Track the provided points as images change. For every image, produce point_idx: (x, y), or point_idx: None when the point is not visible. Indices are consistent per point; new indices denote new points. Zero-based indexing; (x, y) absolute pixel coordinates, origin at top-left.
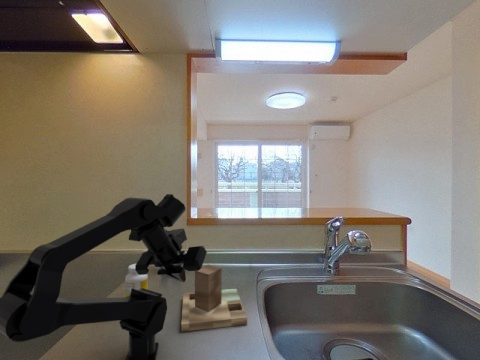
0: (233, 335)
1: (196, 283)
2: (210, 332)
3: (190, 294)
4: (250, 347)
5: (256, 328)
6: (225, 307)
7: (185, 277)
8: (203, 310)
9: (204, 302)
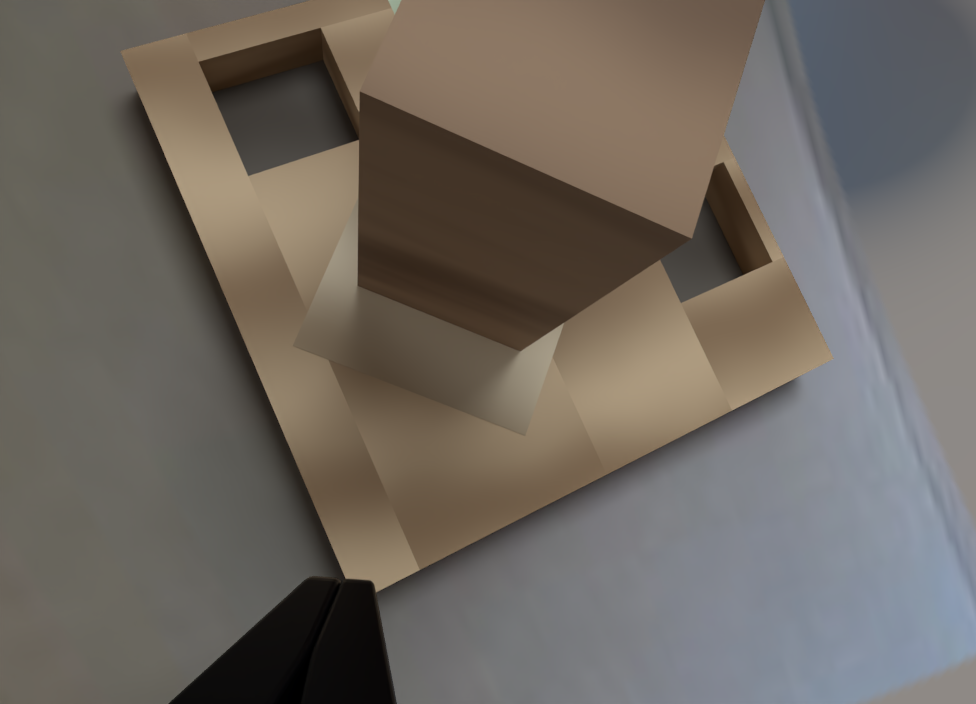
0: (748, 518)
1: (388, 205)
2: (584, 530)
3: (210, 62)
4: (882, 610)
5: (864, 399)
6: None
7: (379, 616)
8: (464, 336)
9: (487, 316)
